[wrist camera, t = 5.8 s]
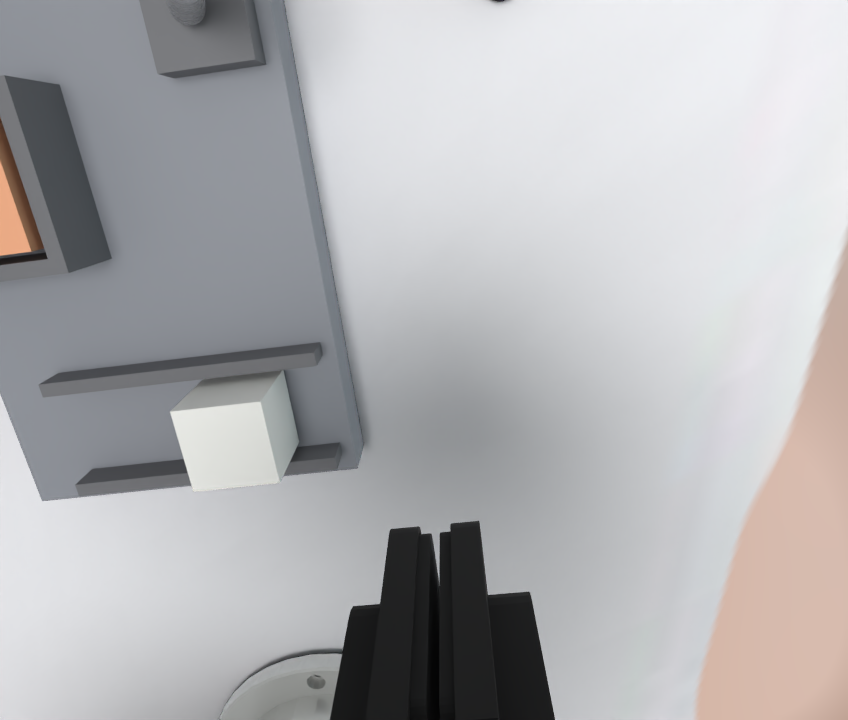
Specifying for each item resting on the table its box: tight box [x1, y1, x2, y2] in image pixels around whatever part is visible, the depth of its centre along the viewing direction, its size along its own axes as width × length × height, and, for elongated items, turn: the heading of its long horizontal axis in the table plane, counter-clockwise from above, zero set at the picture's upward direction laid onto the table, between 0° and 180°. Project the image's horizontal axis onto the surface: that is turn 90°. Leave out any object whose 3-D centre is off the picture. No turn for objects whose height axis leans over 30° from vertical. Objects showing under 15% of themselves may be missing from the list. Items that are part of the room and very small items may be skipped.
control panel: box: [0, 0, 364, 501], centre depth 21 cm, size 18×13×5 cm
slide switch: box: [170, 370, 299, 492], centre depth 21 cm, size 3×3×3 cm
